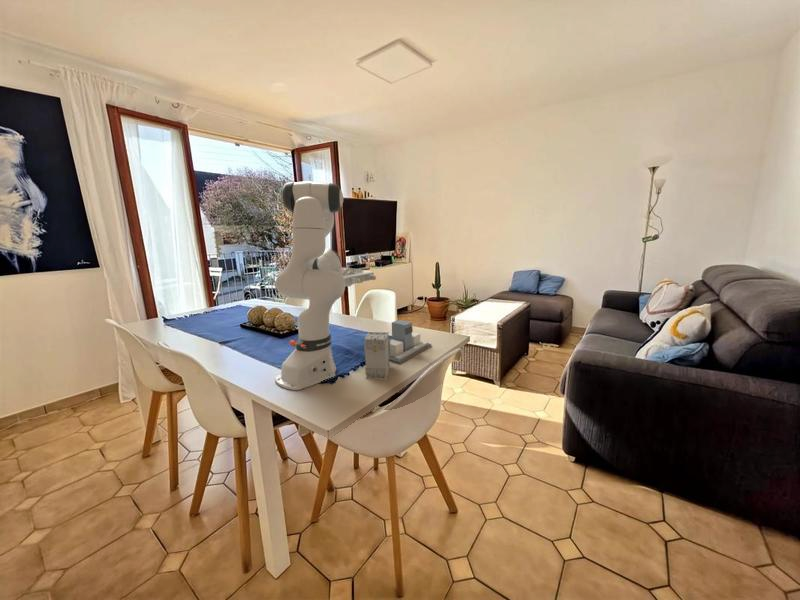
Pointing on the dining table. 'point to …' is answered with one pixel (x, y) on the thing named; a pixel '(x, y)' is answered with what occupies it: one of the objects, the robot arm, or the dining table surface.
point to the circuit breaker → (377, 355)
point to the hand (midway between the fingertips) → (368, 279)
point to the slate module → (403, 333)
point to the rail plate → (401, 356)
